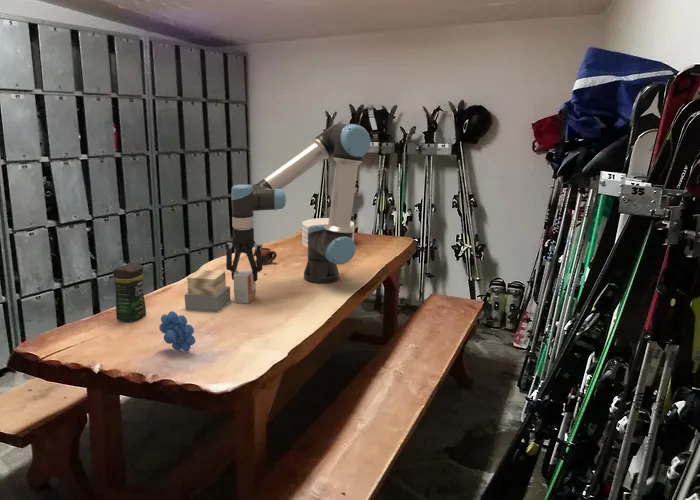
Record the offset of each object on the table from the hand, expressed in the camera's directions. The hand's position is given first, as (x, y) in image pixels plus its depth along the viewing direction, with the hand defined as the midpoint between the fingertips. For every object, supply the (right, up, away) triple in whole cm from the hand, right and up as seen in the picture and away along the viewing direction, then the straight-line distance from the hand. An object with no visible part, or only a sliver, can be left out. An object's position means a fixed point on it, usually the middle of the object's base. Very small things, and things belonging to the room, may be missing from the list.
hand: (244, 288), depth 201 cm
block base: (-12, -6, -5) cm, 15 cm away
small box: (0, -5, +1) cm, 5 cm away
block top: (-12, 0, -6) cm, 14 cm away
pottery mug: (0, +8, +51) cm, 52 cm away
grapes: (-12, -16, -43) cm, 47 cm away
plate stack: (+27, +18, +91) cm, 96 cm away
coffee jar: (-35, -9, -18) cm, 40 cm away
